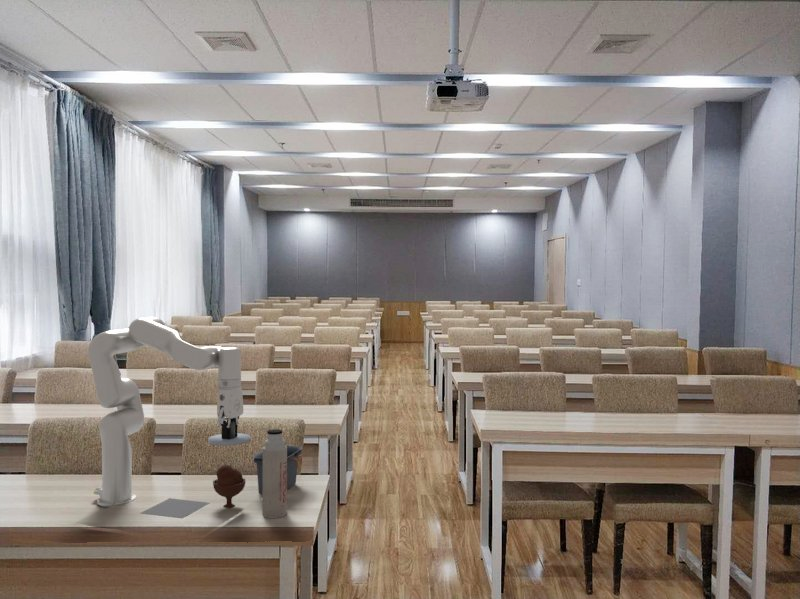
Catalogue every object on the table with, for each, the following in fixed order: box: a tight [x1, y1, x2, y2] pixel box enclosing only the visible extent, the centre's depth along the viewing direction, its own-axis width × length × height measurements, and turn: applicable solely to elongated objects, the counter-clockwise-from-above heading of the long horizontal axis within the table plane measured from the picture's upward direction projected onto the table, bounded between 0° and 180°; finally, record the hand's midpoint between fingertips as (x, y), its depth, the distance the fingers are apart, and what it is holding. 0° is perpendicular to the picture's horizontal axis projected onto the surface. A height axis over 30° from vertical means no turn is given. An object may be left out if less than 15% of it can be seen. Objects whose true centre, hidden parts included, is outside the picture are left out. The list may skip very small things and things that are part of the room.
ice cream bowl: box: [212, 464, 246, 509], centre depth 227 cm, size 11×11×15 cm
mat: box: [140, 497, 210, 519], centre depth 225 cm, size 16×16×1 cm
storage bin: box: [252, 444, 303, 495], centre depth 249 cm, size 21×16×14 cm
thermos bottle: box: [261, 428, 288, 519], centre depth 223 cm, size 8×8×28 cm
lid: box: [207, 422, 252, 447], centre depth 227 cm, size 14×14×6 cm
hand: (229, 437), depth 227 cm, fingers closed on lid, 3 cm apart
